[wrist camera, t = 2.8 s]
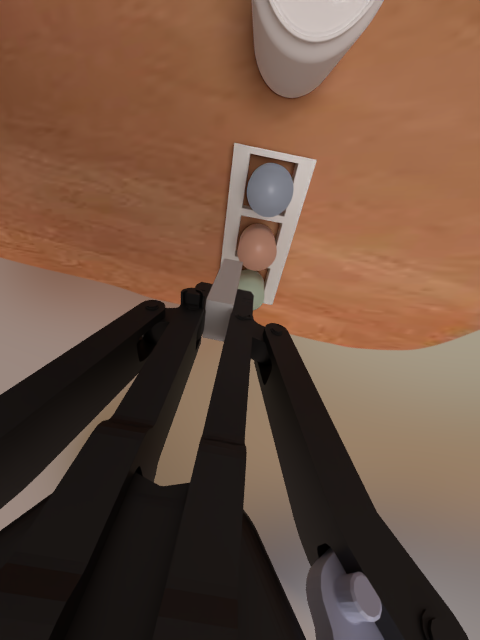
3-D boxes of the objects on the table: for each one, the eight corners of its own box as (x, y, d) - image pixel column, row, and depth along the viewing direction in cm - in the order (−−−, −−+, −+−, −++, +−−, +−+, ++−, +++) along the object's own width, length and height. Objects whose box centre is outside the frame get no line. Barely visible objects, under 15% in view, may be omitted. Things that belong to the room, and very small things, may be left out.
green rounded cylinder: (231, 294, 33) (228, 307, 30) (235, 266, 30) (232, 278, 27) (260, 299, 33) (260, 313, 30) (267, 272, 30) (268, 285, 27)
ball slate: (245, 206, 25) (243, 212, 22) (252, 158, 23) (251, 158, 20) (282, 213, 26) (285, 220, 23) (294, 167, 23) (300, 168, 20)
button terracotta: (237, 255, 29) (234, 267, 26) (242, 220, 26) (240, 228, 23) (270, 262, 29) (271, 273, 26) (279, 227, 27) (281, 236, 24)
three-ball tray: (219, 287, 36) (217, 294, 34) (236, 144, 25) (234, 142, 23) (271, 296, 36) (272, 304, 34) (312, 159, 25) (316, 159, 23)
